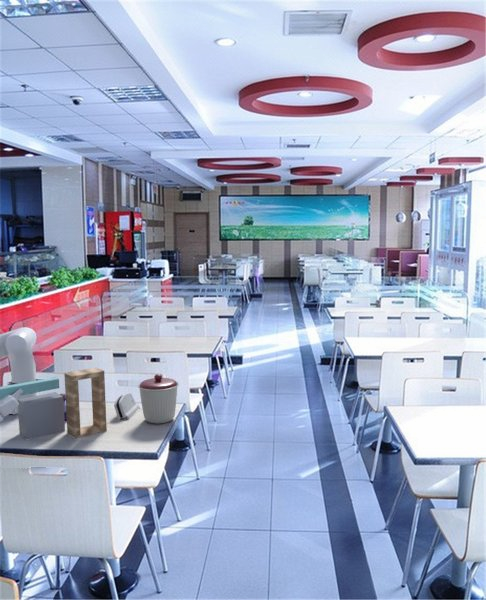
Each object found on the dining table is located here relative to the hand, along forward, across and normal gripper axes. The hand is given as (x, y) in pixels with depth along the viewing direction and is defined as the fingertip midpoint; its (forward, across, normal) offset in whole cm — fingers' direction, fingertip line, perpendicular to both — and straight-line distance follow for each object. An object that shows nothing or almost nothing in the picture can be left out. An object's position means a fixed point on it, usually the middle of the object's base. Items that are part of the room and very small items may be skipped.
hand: (19, 388), depth 225 cm
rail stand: (+10, +12, -30) cm, 33 cm away
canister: (+36, +19, -45) cm, 61 cm away
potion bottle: (+8, -10, -29) cm, 31 cm away
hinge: (+30, +1, -42) cm, 52 cm away
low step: (-3, 0, -22) cm, 22 cm away
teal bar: (+2, 0, -4) cm, 4 cm away
